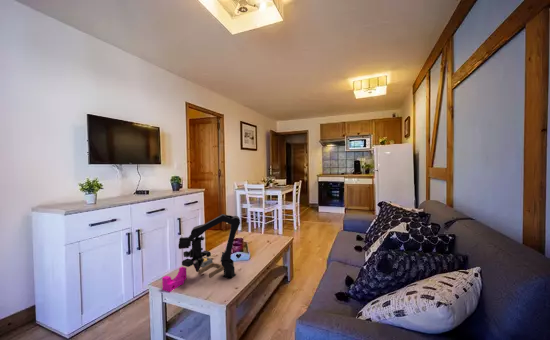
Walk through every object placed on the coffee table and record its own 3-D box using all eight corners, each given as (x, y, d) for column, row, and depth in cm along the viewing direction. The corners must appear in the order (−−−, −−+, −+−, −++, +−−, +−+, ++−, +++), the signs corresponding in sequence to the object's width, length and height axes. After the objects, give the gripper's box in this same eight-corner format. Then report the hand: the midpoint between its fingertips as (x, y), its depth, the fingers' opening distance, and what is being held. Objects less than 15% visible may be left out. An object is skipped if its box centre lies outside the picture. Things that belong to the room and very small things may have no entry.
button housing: (212, 263, 165) (212, 258, 165) (204, 267, 158) (204, 263, 158) (204, 261, 169) (204, 256, 169) (196, 265, 162) (196, 260, 162)
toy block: (170, 292, 128) (170, 279, 128) (162, 290, 130) (162, 277, 130) (189, 279, 142) (189, 268, 142) (182, 278, 144) (181, 266, 144)
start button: (208, 262, 164) (208, 258, 164) (204, 264, 161) (204, 260, 161) (204, 261, 166) (204, 257, 166) (200, 263, 163) (200, 259, 163)
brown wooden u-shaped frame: (224, 268, 156) (224, 265, 155) (210, 277, 144) (210, 273, 144) (213, 265, 161) (212, 262, 161) (198, 273, 149) (198, 270, 149)
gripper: (199, 240, 153) (199, 263, 154) (175, 250, 137) (176, 275, 137) (211, 243, 148) (211, 266, 148) (187, 253, 131) (188, 279, 132)
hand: (197, 271), depth 141 cm, fingers closed
